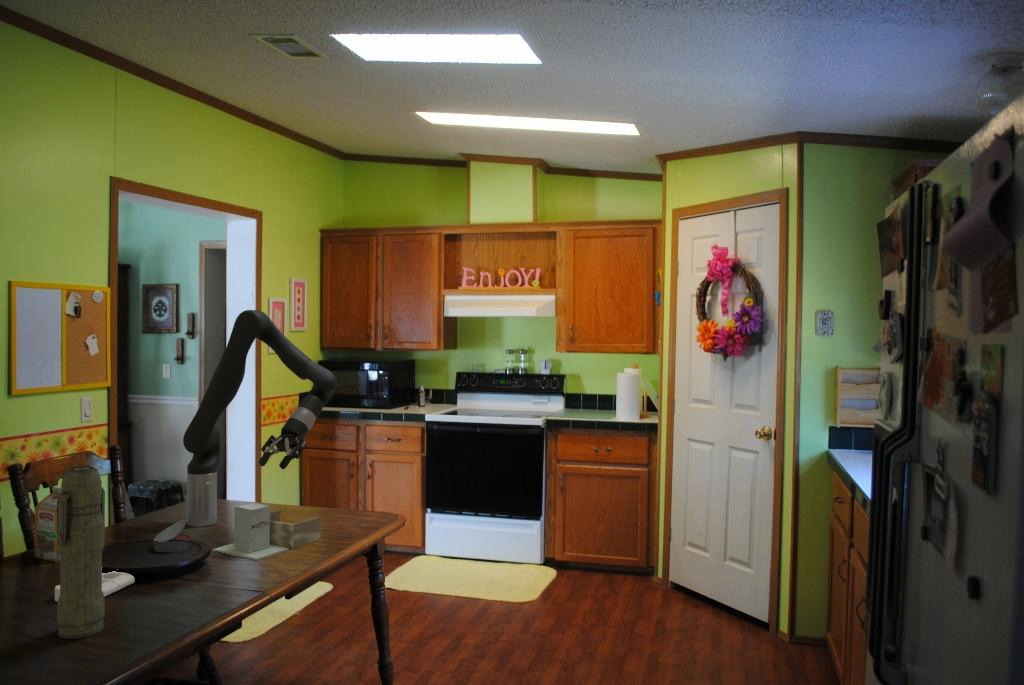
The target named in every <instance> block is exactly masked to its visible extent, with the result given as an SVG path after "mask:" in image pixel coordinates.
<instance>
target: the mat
mask: <svg viewBox="0 0 1024 685" xmlns="http://www.w3.org/2000/svg"><path fill="white" fill-rule="evenodd" d="M212 551H213V552H215V551H217V552H216V553H220V552H221V554H224V553H226V554H225V555H229V554H230V556H234V555H235V557H238V558H239V557H240V558H244V559H247V560H248V559H249V560H252V561H253V560H254V561H261V560H263V559H265V558H270V557H271V556H276V555H279V554H281V553H284V552H287V551H289V548H286V547H281V546H275V545H270V544H269V548H264V549H260V550H256V551H253V552H250V553H248V552H244V551H240V550H237V549H234V542H233V543H229V544H225V545H222V546H219V547H216V548H213V549H212Z"/></svg>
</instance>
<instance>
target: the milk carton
mask: <svg viewBox="0 0 1024 685" xmlns="http://www.w3.org/2000/svg"><path fill="white" fill-rule="evenodd" d="M60 495H61V487H59V486H57V487H56V486H54V487H52V492H51V493H49V494H48V495H46V496H45V497H44V498H42V500H40V501H39V502H38V503H37V505H36V506H35V507H34V558H37V559H41V558H42V560H45V559H46V560H45V561H49V560H50V561H49V562H53V561H54V562H53V563H57V562H58V563H60V555H59V553H58V543H57V501H58V499H59V496H60Z"/></svg>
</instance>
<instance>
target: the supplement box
mask: <svg viewBox="0 0 1024 685" xmlns="http://www.w3.org/2000/svg"><path fill="white" fill-rule="evenodd" d="M270 512H271V506H270V505H269V504H264V503H259V502H251V503H246V504H243V505H242V504H241V505H236V506H234V516H233V517H234V518H233V519H234V522H233V523H234V524H233V525H234V530H233V531H234V532H233V533H234V534H233V543H234V549H237V550H240V551H244V552H248V553H250V552H253V551H256V550H260V549H264V548H269V539H270Z"/></svg>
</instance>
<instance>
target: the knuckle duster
mask: <svg viewBox="0 0 1024 685" xmlns="http://www.w3.org/2000/svg"><path fill="white" fill-rule="evenodd" d="M135 580H136V579H135V577H134V576H133V575H132V574H130V573H127V572H121V571H120V572H116V571H112V572H108V573H102V592H103V594H104V598H105V597H107V596H109V595H111V594H113V593H115V592H116V593H117V592H118V591H120V590H122V589H124V588H126V587H127V586H130V585H132V584H134V583H135ZM59 597H60V584H58V585H56V586H55V587H54V601H55V602H56V603H57V602H58V599H59Z"/></svg>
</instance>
